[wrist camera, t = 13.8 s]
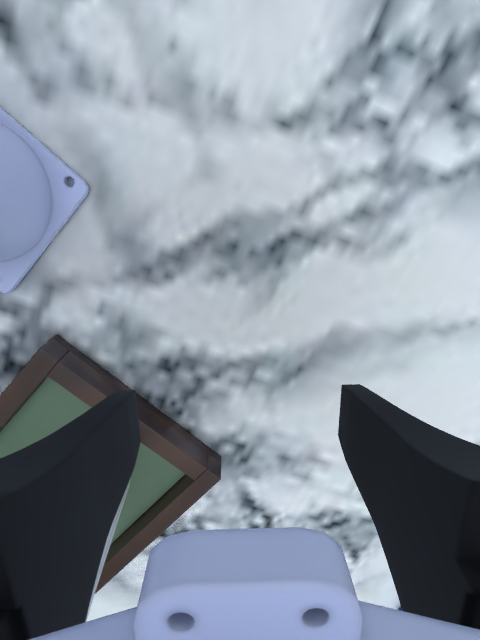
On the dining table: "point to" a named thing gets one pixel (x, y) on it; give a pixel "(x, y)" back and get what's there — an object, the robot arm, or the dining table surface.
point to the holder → (153, 456)
